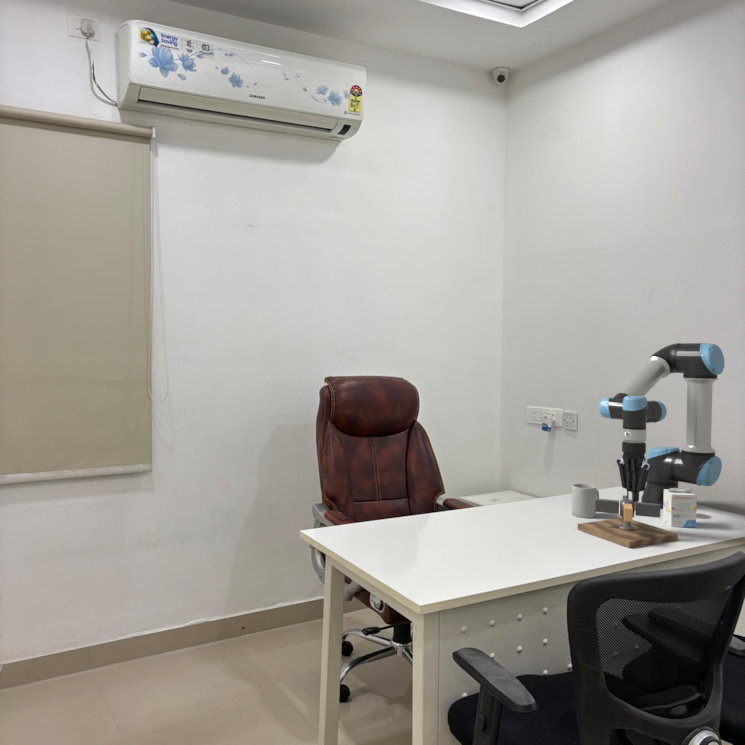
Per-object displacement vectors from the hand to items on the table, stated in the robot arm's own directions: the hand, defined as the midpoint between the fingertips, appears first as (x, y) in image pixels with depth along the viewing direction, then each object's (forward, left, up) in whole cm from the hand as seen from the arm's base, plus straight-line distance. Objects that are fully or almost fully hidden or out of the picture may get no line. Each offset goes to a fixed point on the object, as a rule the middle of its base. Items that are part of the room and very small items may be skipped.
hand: (632, 510), depth 216 cm
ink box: (-23, +1, -7) cm, 24 cm away
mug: (-2, -22, -7) cm, 24 cm away
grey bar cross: (+5, +3, -1) cm, 6 cm away
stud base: (+5, +3, -7) cm, 9 cm away
